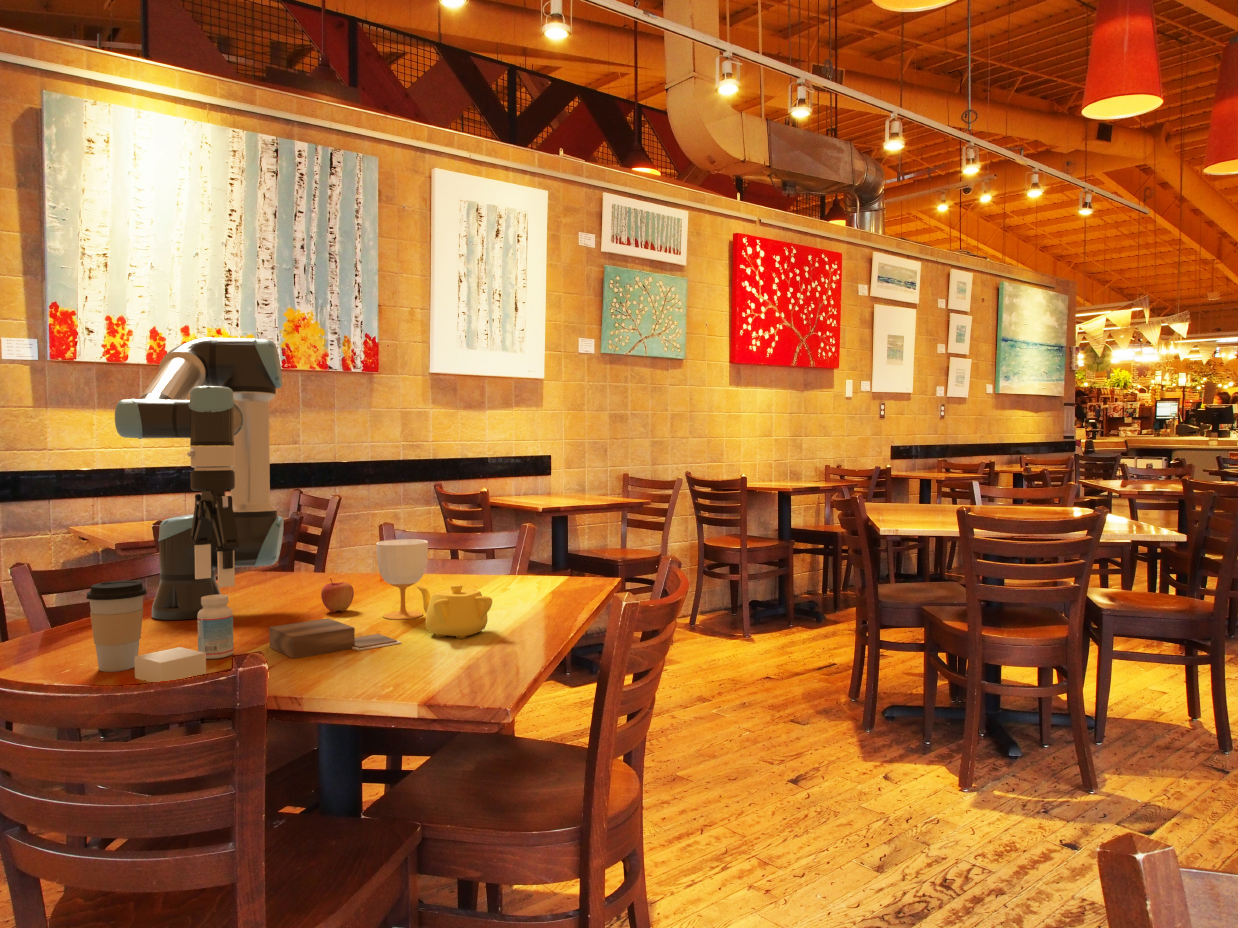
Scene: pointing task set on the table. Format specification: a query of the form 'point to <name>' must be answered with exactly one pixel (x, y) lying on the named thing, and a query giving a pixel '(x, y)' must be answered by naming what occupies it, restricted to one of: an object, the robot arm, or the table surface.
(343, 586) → the apple
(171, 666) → the beige block
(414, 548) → the cup
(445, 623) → the teapot
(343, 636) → the walnut block
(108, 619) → the coffee cup
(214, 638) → the pill bottle
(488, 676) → the table surface
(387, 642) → the tile
